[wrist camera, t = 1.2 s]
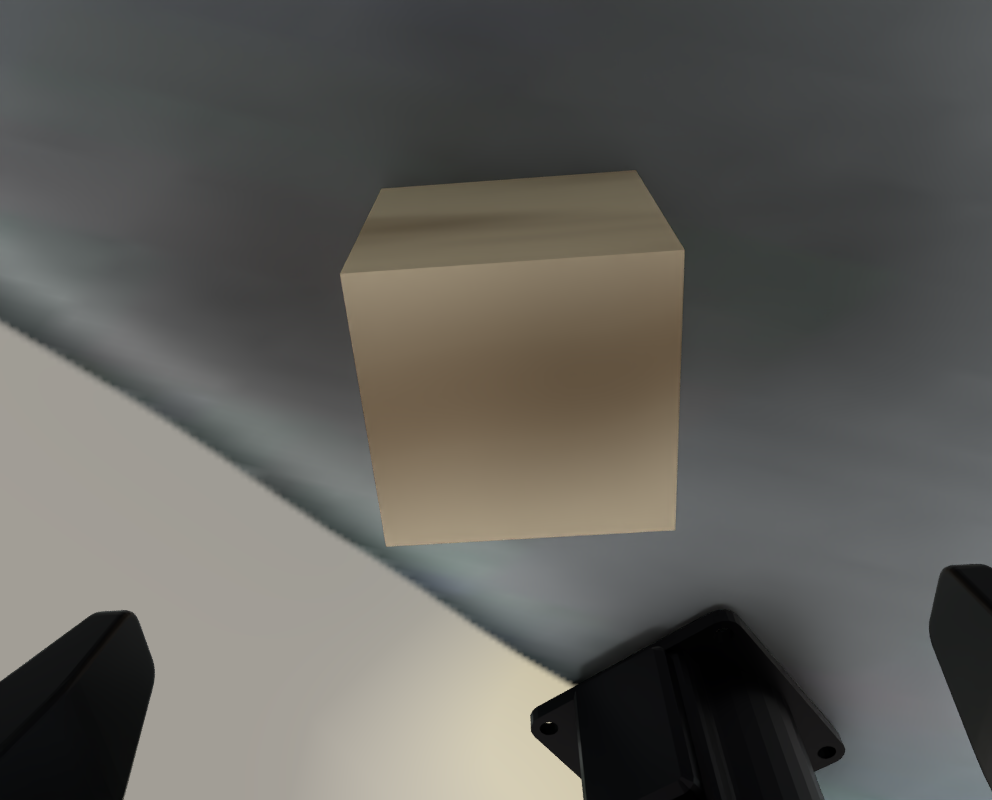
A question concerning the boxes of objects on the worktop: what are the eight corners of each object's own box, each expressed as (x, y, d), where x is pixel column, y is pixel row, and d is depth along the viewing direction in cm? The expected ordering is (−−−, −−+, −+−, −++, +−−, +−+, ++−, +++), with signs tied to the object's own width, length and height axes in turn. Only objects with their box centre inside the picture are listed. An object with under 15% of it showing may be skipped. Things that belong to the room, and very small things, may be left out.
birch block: (633, 394, 19) (675, 530, 14) (412, 407, 19) (386, 546, 15) (634, 169, 16) (684, 249, 12) (381, 188, 17) (339, 273, 12)
